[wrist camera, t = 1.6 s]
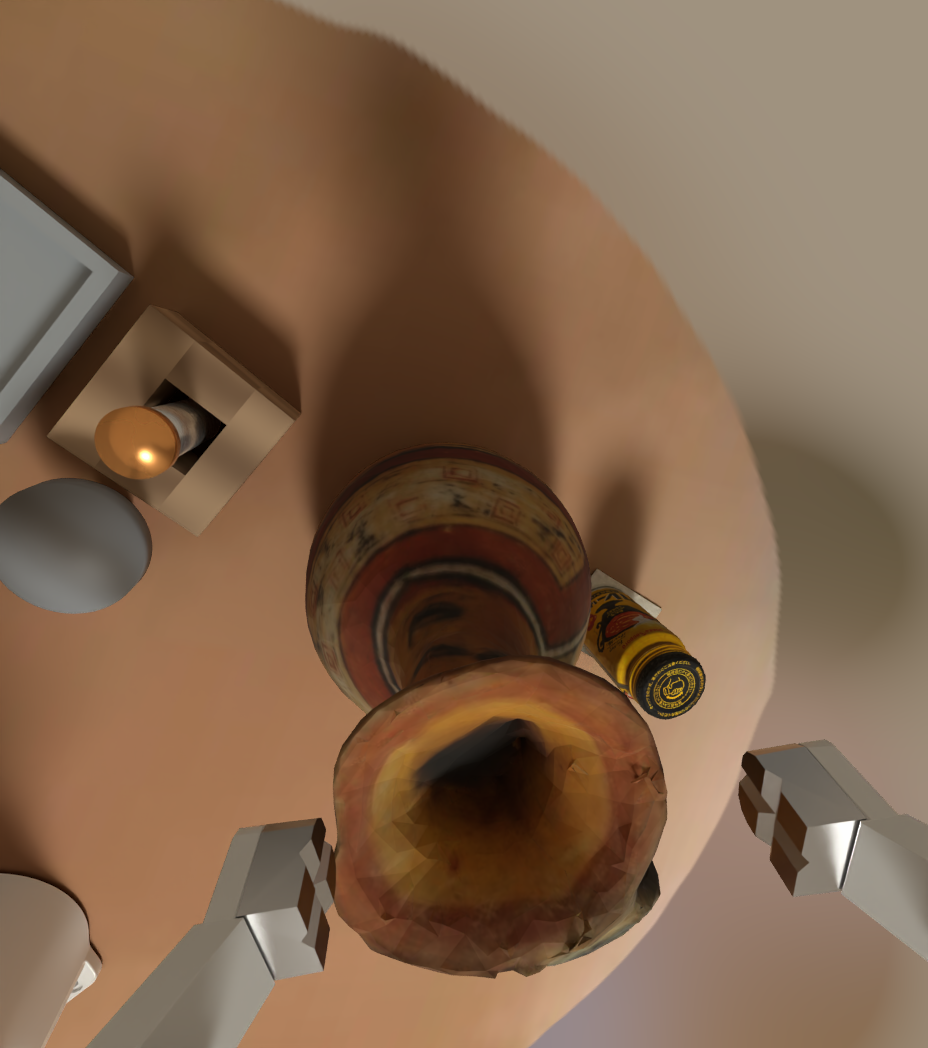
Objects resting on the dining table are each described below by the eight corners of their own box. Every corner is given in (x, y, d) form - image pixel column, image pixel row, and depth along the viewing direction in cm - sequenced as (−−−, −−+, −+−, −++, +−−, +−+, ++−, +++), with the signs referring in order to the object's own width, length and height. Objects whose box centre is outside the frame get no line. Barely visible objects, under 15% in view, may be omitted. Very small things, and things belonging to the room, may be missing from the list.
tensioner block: (150, 595, 40) (107, 645, 33) (16, 514, 36) (-64, 551, 29) (301, 413, 38) (290, 425, 31) (176, 311, 35) (132, 299, 28)
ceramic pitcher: (441, 378, 40) (661, 419, 12) (592, 553, 47) (956, 842, 19) (255, 554, 41) (48, 981, 13) (431, 700, 48) (546, 1181, 20)
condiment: (595, 567, 47) (672, 632, 36) (661, 608, 50) (751, 680, 39) (549, 632, 48) (609, 715, 37) (615, 669, 51) (691, 756, 40)
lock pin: (204, 455, 38) (146, 493, 27) (158, 422, 37) (78, 447, 26) (235, 417, 38) (189, 440, 27) (190, 382, 36) (123, 391, 26)
